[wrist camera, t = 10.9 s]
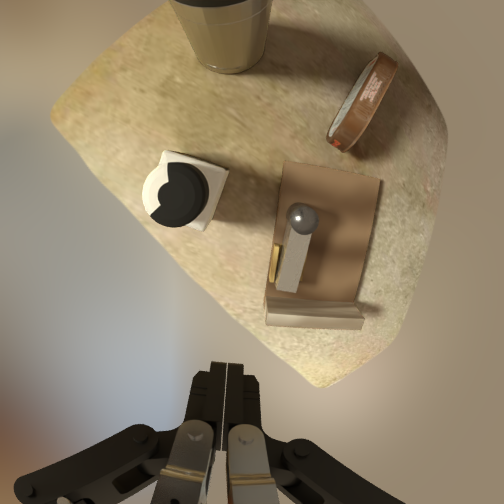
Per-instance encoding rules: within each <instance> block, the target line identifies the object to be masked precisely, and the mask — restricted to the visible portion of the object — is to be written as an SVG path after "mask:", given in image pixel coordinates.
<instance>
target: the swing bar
mask: <svg viewBox="0 0 504 504" xmlns="http://www.w3.org/2000/svg"><path fill="white" fill-rule="evenodd" d="M286 217H287V220H288V221H287V225H286V230H285V234H284V238H283V243H282V247H281V251H280V256H279V260H278V264H277V268H276V272H275V277H274V282H275V286H276V290H281V291H287V292H293V293H296V291H297V287H298V284H299V280H300V277H301V273H302V269H303V265H304V262H305V258H306V254H307V250H308V246H309V242H310V238H311V235H312V233H313V232H314V231H315V230H316V229H317V227H318V224H319V217H318V214H317V213H316V211H315V210H313V209H312V208H310V207H309V206H307V205H306V204H304V203H301V202H298V203H294V204H292V205H291V206H290V207H289V208H288V210H287V213H286Z"/></svg>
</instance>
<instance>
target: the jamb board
mask: <svg viewBox="0 0 504 504" xmlns="http://www.w3.org/2000/svg"><path fill="white" fill-rule="evenodd" d="M379 185H380V179H378V178H374V177H369V176H365V175H360V174H356V173H351V172H346V171H341V170H336V169H331V168H326V167H320V166H315V165H309V164H303V163H297V162H290V161H284V164H283V171H282V179H281V186H280V194H279V201H278V208H277V215H276V222H275V229H274V236H273V243H272V250H271V257H270V264H269V270H268V277H267V283H266V290H265V296H264V303H263V304H264V313H265V322H266V325H267V326H280V327H294V328H312V329H335V330H361V329H362V326H363V323H364V320H365V318H364V317H363V316H362V314H361V313H360V311H359V310H358V309H357V307H356V306H355V304H354V303H353V302H354V299H355V295H356V292H357V288H358V284H359V280H360V277H361V273H362V269H363V265H364V260H365V256H366V252H367V248H368V243H369V238H370V234H371V229H372V224H373V219H374V214H375V208H376V203H377V197H378V191H379ZM298 202H301V203H304V204H306V205H307V206H309V207H310V208H312V209H313V210H315V211H316V213H317V214H318V217H319V224H318V227H317V229H316V230H315V231H314V232H313V233H312V235H311V238H310V242H309V246H308V250H307V254H306V258H305V262H304V265H303V269H302V273H301V277H300V280H299V284H298V287H297V291H296V293H293V292H287V291H281V290H276V286H275V282H274V277H275V272H276V268H277V264H278V260H279V256H280V251H281V247H282V243H283V238H284V234H285V230H286V225H287V221H288V220H287V217H286V213H287V210H288V208H289V207H290V206H291V205H292V204H294V203H298Z"/></svg>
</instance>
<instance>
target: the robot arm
mask: <svg viewBox="0 0 504 504" xmlns="http://www.w3.org/2000/svg"><path fill="white" fill-rule="evenodd" d="M272 1H273V0H169V2H170V3H171V5H172V7H173V9H174V11H175V13H176V15H177V17H178V19H179V21H180V23H181V25H182V27H183V29H184V31H185V33H186V35H187V37H188V39H189V42H190V44H191V46H192V48H193V50H194V52H195V54H196V56H197V58H198V60H199V61H200V63H201V64H202V65H203V66H205V67H206V68H208V69H209V70H211V71H214V72H217V73H223V74H233V73H239V72H242V71H245V70H247V69H249V68H251V67H252V66H254V65H255V64H256V63H257V62H258V61H259V59H260V58H261V57H262V54H263V52H264V48H265V42H266V37H267V31H268V24H269V18H270V12H271V6H272ZM226 366H227V363H223V362H213V361H212V362H211V366H210V372H207V371H206V372H205V371H199V372H198V373H197V374H196V375H195V376H194V377H193V381H192V385H191V390H190V395H189V399H188V404H187V409H186V414H185V418H184V421H183V423H182V424H181V425H180V426H179V427H177V428H176V429H173V430H169V431H159V432H156V431H155V430H154V429H153V428H151V427H149V426H147V425H144V424H135V425H132V426H130V427H128V428H126V429H125V430H123V431H121V432H119V433H117V434H115V435H113V436H111V437H109V438H107V439H105V440H103V441H101V442H99V443H97V444H95V445H94V446H91V447H90V448H87V449H85V450H83V451H81V452H79V453H77V454H75V455H73V456H70V457H68V458H66V459H64V460H61V461H59V462H57V463H55V464H52V465H49V466H47V467H45V468H42V469H40V470H37V471H35V472H32V473H30V474H27V475H24V476H22V477H19V478H18V479H17V480H16V482H15V484H14V492H15V495H16V497H17V499H18V500H19V501H20V502H21V503H23V504H117V503H120V502H121V501H123V500H125V499H127V498H128V497H130V496H132V495H134V494H135V493H137V492H139V491H140V490H142V489H143V488H145V487H147V486H148V485H150V484H152V483H153V482H155V481H156V480H158V481H157V484H156V487H155V491H154V494H153V497H152V500H151V503H150V504H207V497H208V491H209V486H210V480H211V474H212V469H213V464H214V461H215V452H216V450H219V451H220V449H221V435H222V421H223V408H224V395H225V381H226ZM243 367H244V365H243V364H236V363H228V371H227V384H226V397H225V411H224V412H225V413H224V425H223V443H222V451H227V453H226V481H227V498H228V504H279V498H278V493H277V488H278V489H279V490H280V491H281V492H282V493H283V494H284V495H286V496H287V497H288V498H289V499H290V500H292V501H293V502H294V503H295V504H405V503H403V502H402V501H400V500H398V499H397V498H395V497H393V496H391V495H390V494H388V493H386V492H385V491H383V490H381V489H380V488H378V487H376V486H375V485H373V484H372V483H370V482H368V481H367V480H365V479H364V478H362V477H361V476H359V475H358V474H356V473H355V472H353V471H352V470H350V469H349V468H347V467H346V466H344V465H343V464H342V463H340V462H339V461H337V460H336V459H335V458H333V457H332V456H330V455H329V454H328V453H326V452H325V451H324V450H322V449H321V448H320V447H318V446H317V445H316V444H314V443H313V442H311V441H309V440H306V439H294V440H292V441H290V442H288V443H286V442H282V441H278V440H275V439H272V438H271V437H269V436H268V435H266V434H265V432H264V431H263V429H262V426H261V411H260V394H259V382H258V381H257V379H256V378H255V376H254V375H243V371H244V370H243V369H244V368H243Z"/></svg>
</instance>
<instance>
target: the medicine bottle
mask: <svg viewBox="0 0 504 504" xmlns="http://www.w3.org/2000/svg"><path fill="white" fill-rule="evenodd" d="M228 174H229V169H228V168H226V167H223V166H220V165H218V164H215V163H212V162H209V161H206V160H203V159H199V158H196V157H193V156H190V155H187V154H184V153H180V152H175V151H169V150H165V151H163V153H162V156H161V159H160V162H159V165H158V167H157V168H155V169H154V170H153V171H152V172H151V173H150V174H149V176H148V177H147V179H146V181H145V183H144V186H143V193H142V196H143V203H144V206H145V209H146V212H147V213H148V214H149V215H150V217H151V218H152V219H153V220H155V221H156V222H157V223H159V224H161V225H163V226H166V227H182V226H187V227H190V228H193V229H196V230H199V231H205V229H206V228H207V226H208V225H209V223H210V222H211V220H212V218H213V216H214V213H215V210H216V207H217V204H218V201H219V199H220V196H221V193H222V190H223V187H224V185H225V182H226V179H227V176H228Z"/></svg>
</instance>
